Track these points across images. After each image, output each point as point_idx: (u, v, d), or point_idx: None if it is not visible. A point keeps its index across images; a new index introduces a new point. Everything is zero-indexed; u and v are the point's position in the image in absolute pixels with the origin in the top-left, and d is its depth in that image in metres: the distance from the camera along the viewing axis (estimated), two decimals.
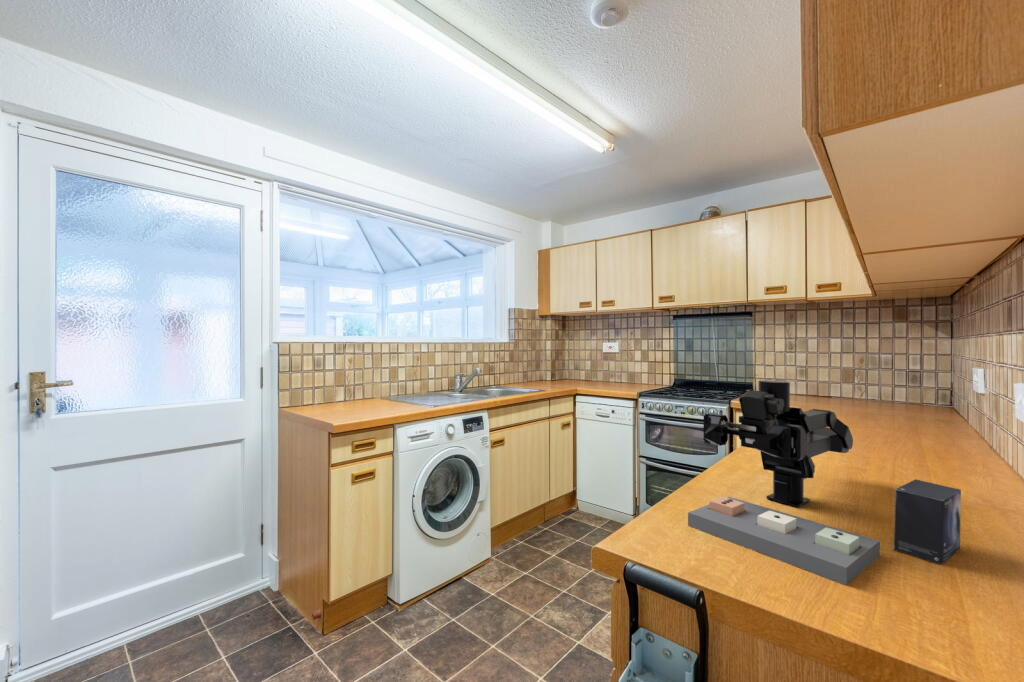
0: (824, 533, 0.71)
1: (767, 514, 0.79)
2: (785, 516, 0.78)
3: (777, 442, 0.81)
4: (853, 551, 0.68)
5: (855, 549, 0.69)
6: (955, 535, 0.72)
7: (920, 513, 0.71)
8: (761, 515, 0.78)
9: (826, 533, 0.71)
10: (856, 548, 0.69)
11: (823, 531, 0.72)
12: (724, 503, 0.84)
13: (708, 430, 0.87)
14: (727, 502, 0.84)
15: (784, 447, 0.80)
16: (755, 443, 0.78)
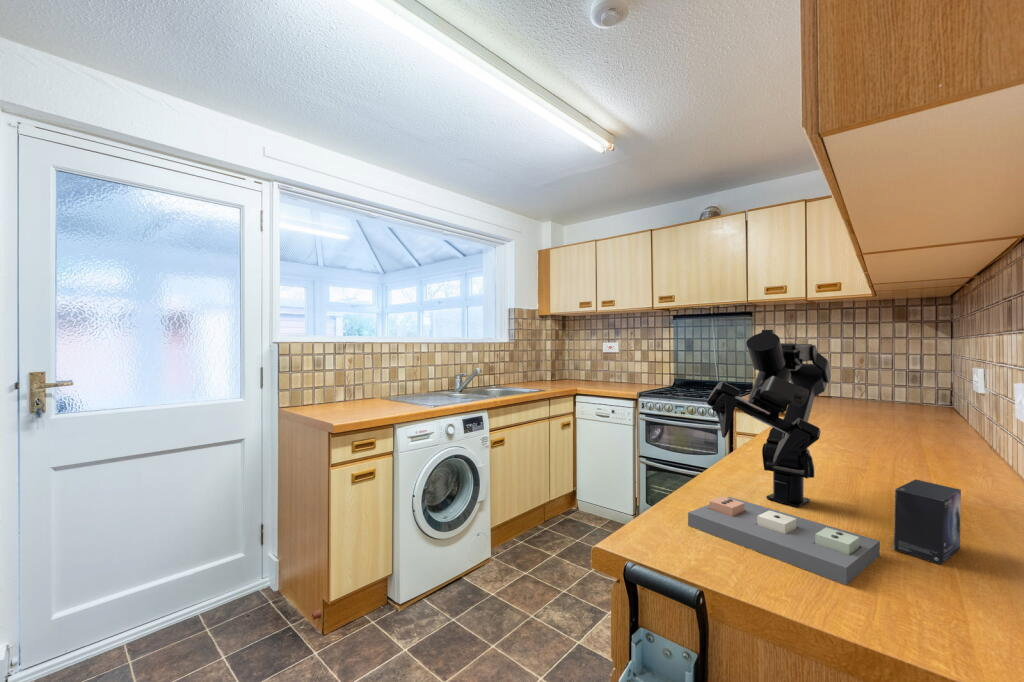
0: (824, 533, 0.71)
1: (767, 514, 0.79)
2: (785, 516, 0.78)
3: None
4: (853, 551, 0.68)
5: (855, 549, 0.69)
6: (955, 535, 0.72)
7: (920, 513, 0.71)
8: (761, 515, 0.78)
9: (826, 533, 0.71)
10: (856, 548, 0.69)
11: (823, 531, 0.72)
12: (724, 503, 0.84)
13: (727, 427, 0.81)
14: (727, 502, 0.84)
15: (794, 444, 0.81)
16: (777, 462, 0.78)
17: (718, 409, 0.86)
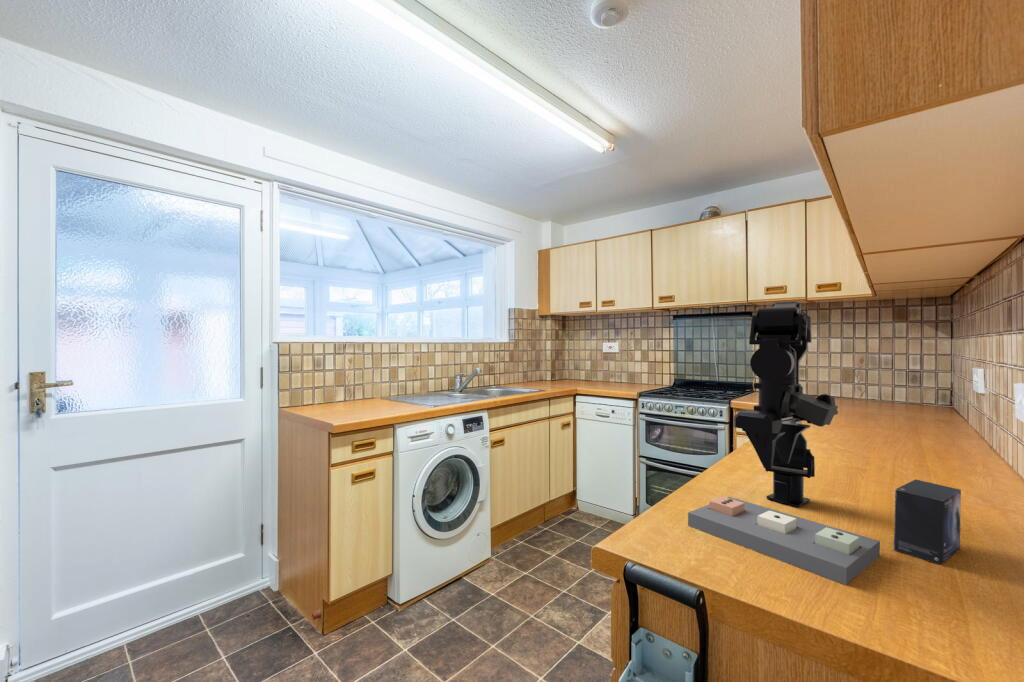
0: (824, 533, 0.71)
1: (767, 514, 0.79)
2: (785, 516, 0.78)
3: None
4: (853, 551, 0.68)
5: (855, 549, 0.69)
6: (955, 535, 0.72)
7: (920, 513, 0.71)
8: (761, 515, 0.78)
9: (826, 533, 0.71)
10: (856, 548, 0.69)
11: (823, 531, 0.72)
12: (724, 503, 0.84)
13: (772, 460, 0.75)
14: (727, 502, 0.84)
15: None
16: None
17: None
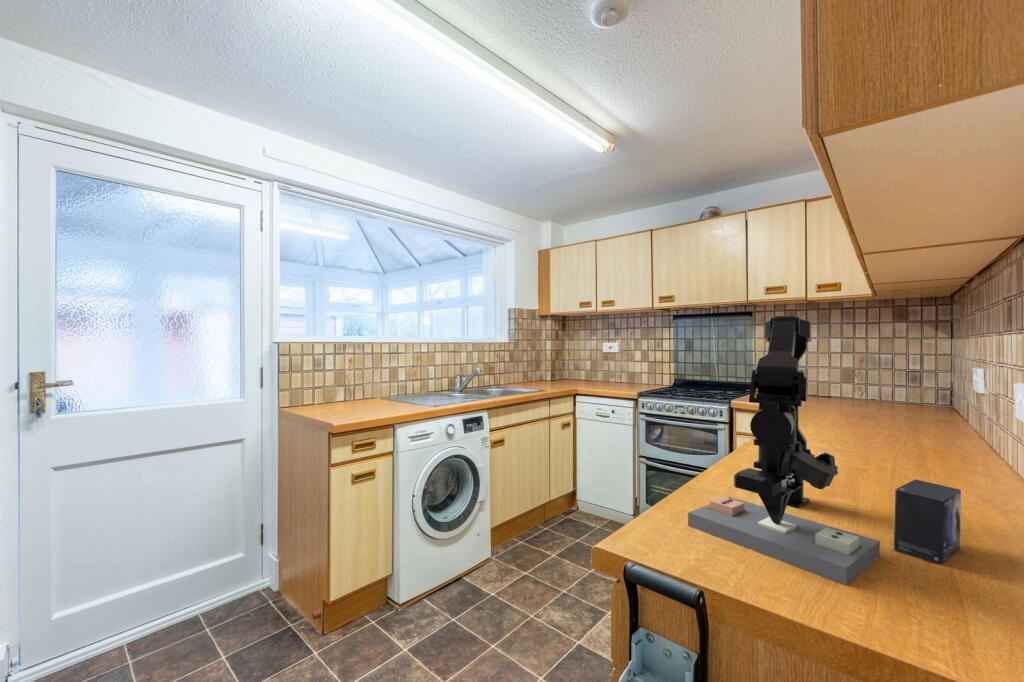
0: (824, 533, 0.71)
1: (767, 520, 0.79)
2: (785, 522, 0.78)
3: None
4: (853, 551, 0.68)
5: (855, 549, 0.69)
6: (955, 535, 0.72)
7: (920, 513, 0.71)
8: (761, 521, 0.78)
9: (826, 533, 0.71)
10: (856, 548, 0.69)
11: (823, 531, 0.72)
12: (724, 503, 0.84)
13: (780, 515, 0.77)
14: (727, 502, 0.84)
15: None
16: None
17: None
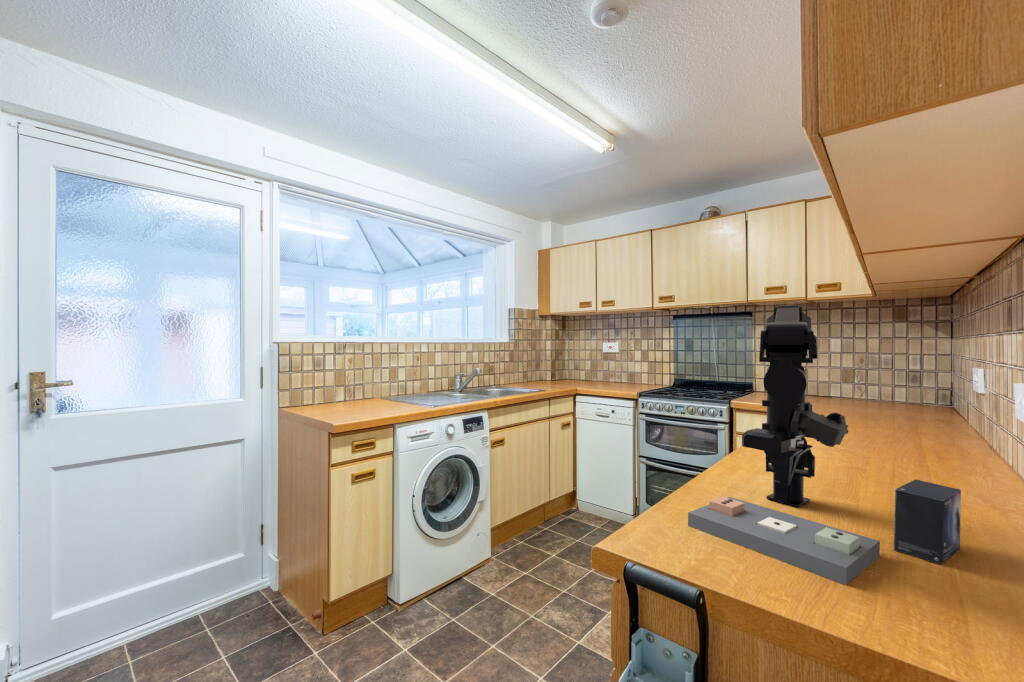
0: (824, 533, 0.71)
1: (767, 521, 0.79)
2: (785, 523, 0.78)
3: None
4: (853, 551, 0.68)
5: (855, 549, 0.69)
6: (955, 535, 0.72)
7: (920, 513, 0.71)
8: (761, 522, 0.78)
9: (826, 533, 0.71)
10: (856, 548, 0.69)
11: (823, 531, 0.72)
12: (724, 503, 0.84)
13: (789, 477, 0.75)
14: (727, 502, 0.84)
15: None
16: None
17: None
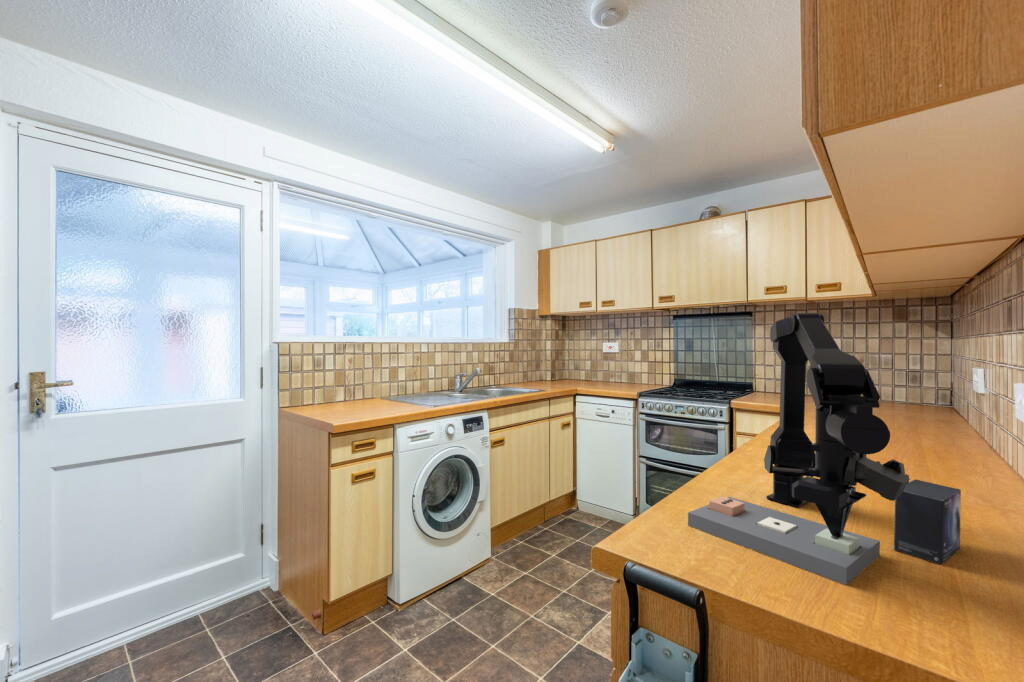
0: (824, 534, 0.71)
1: (767, 521, 0.79)
2: (785, 523, 0.78)
3: None
4: (853, 552, 0.68)
5: (855, 550, 0.69)
6: (955, 535, 0.72)
7: (920, 513, 0.71)
8: (761, 522, 0.78)
9: (826, 534, 0.71)
10: (856, 549, 0.69)
11: (823, 532, 0.72)
12: (724, 503, 0.84)
13: (841, 529, 0.69)
14: (727, 502, 0.84)
15: None
16: None
17: None
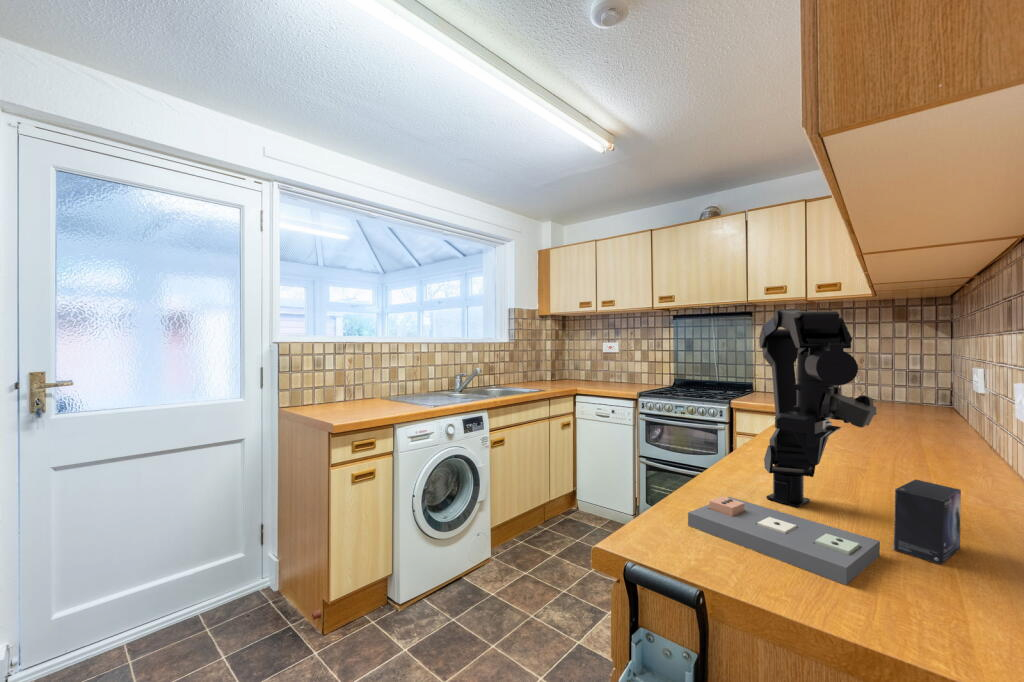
0: (824, 539, 0.71)
1: (767, 521, 0.79)
2: (785, 523, 0.78)
3: None
4: None
5: None
6: (955, 535, 0.72)
7: (920, 513, 0.71)
8: (761, 522, 0.78)
9: (826, 539, 0.71)
10: None
11: (823, 537, 0.72)
12: (724, 503, 0.84)
13: (818, 457, 0.79)
14: (727, 502, 0.84)
15: None
16: None
17: None
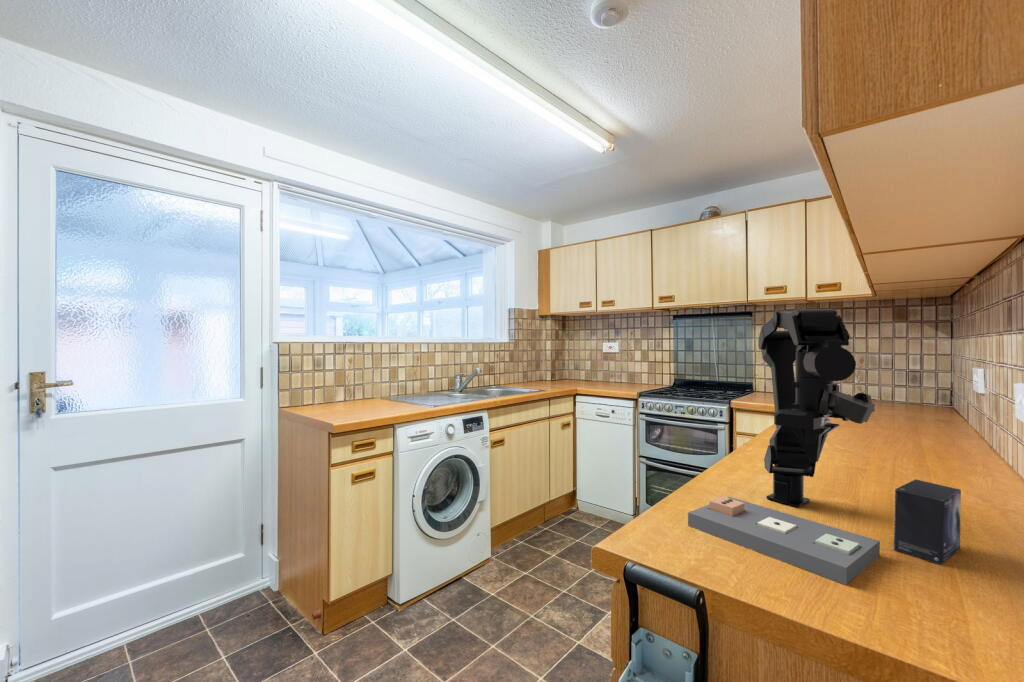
0: (824, 539, 0.71)
1: (767, 521, 0.79)
2: (785, 523, 0.78)
3: None
4: None
5: None
6: (955, 535, 0.72)
7: (920, 513, 0.71)
8: (761, 522, 0.78)
9: (826, 539, 0.71)
10: None
11: (823, 537, 0.72)
12: (724, 503, 0.84)
13: (818, 454, 0.80)
14: (727, 502, 0.84)
15: None
16: None
17: None
